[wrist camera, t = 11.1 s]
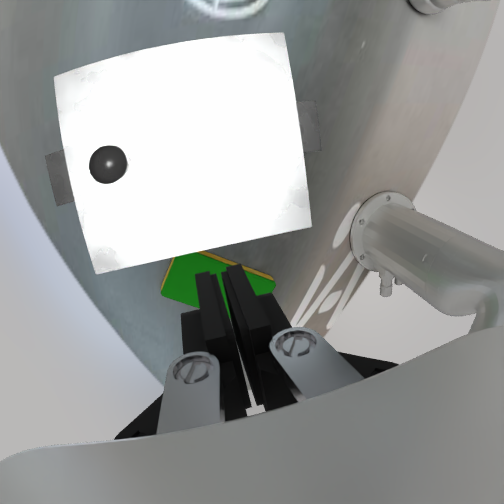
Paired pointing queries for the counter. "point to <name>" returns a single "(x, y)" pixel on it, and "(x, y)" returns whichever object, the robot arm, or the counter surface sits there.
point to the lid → (183, 148)
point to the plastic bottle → (435, 5)
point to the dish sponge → (186, 266)
